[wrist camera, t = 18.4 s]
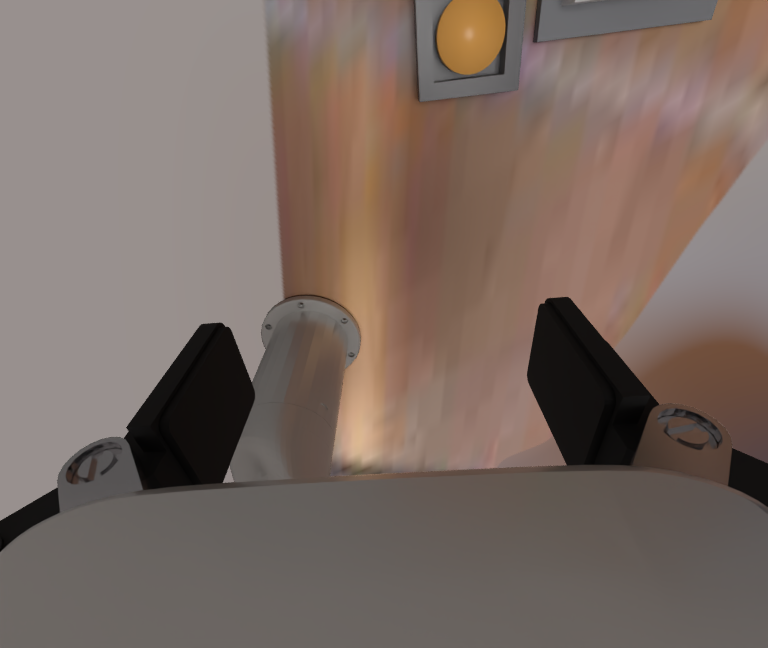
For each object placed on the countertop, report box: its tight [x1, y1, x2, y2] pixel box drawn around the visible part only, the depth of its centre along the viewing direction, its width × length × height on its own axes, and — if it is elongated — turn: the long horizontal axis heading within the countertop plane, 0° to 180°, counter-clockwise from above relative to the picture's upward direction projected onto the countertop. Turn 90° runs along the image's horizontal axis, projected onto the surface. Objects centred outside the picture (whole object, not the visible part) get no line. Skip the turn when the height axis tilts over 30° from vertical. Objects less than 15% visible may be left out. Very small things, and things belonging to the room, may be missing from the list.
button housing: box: [414, 0, 526, 102], centre depth 29 cm, size 8×8×2 cm
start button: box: [435, 0, 505, 75], centre depth 28 cm, size 5×5×2 cm
